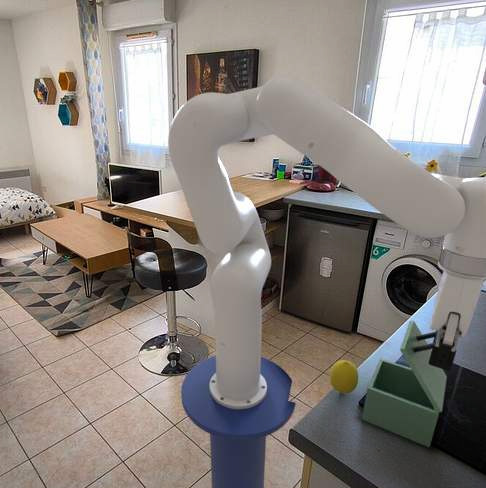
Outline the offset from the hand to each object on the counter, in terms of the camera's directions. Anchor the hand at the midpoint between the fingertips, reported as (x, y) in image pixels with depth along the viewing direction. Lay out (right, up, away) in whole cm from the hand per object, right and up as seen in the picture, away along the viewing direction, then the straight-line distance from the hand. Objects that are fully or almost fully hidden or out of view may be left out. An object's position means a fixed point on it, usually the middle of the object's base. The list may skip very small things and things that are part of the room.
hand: (441, 356), depth 62 cm
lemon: (-12, -12, +14) cm, 22 cm away
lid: (-2, -2, +2) cm, 4 cm away
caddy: (-3, -14, +8) cm, 16 cm away
